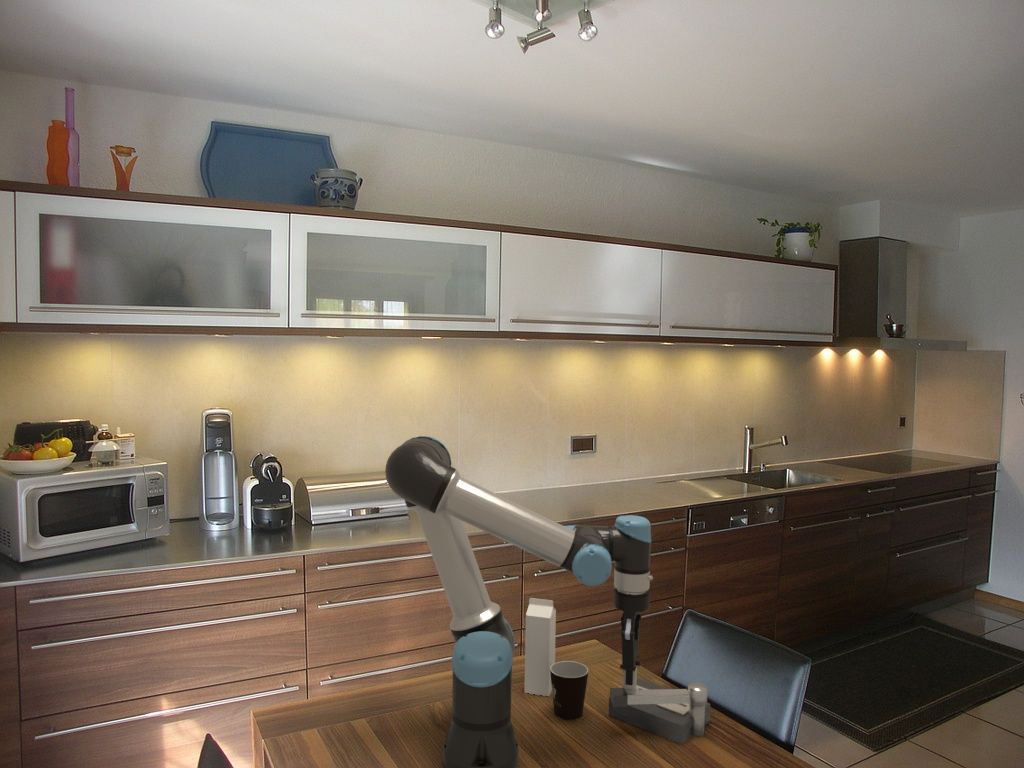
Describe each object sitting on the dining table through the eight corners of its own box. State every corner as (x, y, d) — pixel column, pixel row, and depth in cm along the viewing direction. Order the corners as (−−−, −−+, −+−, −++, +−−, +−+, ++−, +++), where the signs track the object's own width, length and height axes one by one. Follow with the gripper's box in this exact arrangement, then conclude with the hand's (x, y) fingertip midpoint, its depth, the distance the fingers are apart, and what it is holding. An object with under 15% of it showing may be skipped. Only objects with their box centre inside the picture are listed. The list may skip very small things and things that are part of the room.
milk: (530, 682, 176) (532, 593, 175) (554, 686, 174) (556, 596, 173) (524, 693, 170) (525, 601, 169) (549, 697, 168) (550, 604, 167)
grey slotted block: (608, 715, 160) (609, 686, 160) (639, 695, 170) (639, 668, 170) (688, 747, 147) (689, 716, 147) (716, 723, 157) (717, 694, 157)
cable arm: (703, 697, 155) (703, 682, 155) (709, 706, 151) (709, 691, 151) (609, 698, 154) (609, 683, 154) (613, 707, 150) (613, 692, 150)
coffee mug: (585, 724, 156) (586, 679, 156) (546, 720, 158) (547, 675, 157) (590, 699, 167) (591, 657, 167) (553, 695, 169) (554, 654, 169)
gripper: (646, 601, 146) (643, 714, 147) (652, 581, 159) (650, 686, 160) (609, 597, 148) (607, 708, 149) (618, 578, 161) (616, 681, 162)
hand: (629, 696), depth 155 cm, fingers closed
